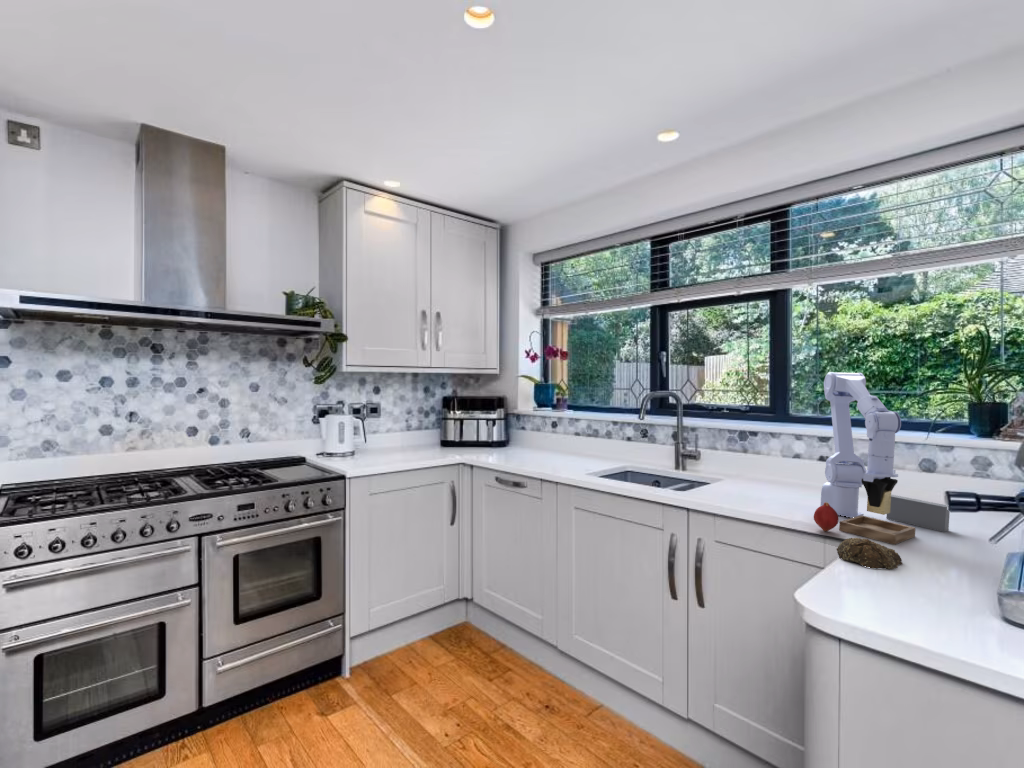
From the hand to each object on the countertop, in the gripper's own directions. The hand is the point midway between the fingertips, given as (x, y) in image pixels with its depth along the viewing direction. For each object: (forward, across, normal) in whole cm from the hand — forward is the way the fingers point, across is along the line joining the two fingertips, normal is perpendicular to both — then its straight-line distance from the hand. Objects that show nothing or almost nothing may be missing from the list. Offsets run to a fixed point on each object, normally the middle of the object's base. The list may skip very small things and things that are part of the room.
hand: (878, 505), depth 139 cm
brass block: (+2, 0, 0) cm, 2 cm away
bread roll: (+8, -25, -8) cm, 27 cm away
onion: (+8, -11, +8) cm, 16 cm away
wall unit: (+8, +21, -2) cm, 22 cm away
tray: (+8, 0, 0) cm, 8 cm away
